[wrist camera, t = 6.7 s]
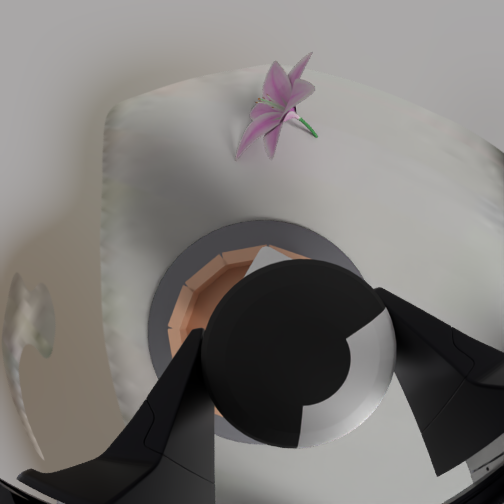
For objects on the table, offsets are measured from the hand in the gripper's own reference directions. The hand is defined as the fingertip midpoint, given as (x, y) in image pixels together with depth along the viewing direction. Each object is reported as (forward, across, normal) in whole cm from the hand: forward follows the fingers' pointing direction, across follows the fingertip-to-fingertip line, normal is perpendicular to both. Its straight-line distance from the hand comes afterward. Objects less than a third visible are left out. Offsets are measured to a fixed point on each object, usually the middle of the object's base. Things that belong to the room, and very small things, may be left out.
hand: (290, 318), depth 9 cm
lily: (+22, -4, -3) cm, 23 cm away
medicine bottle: (+6, 0, +8) cm, 10 cm away
